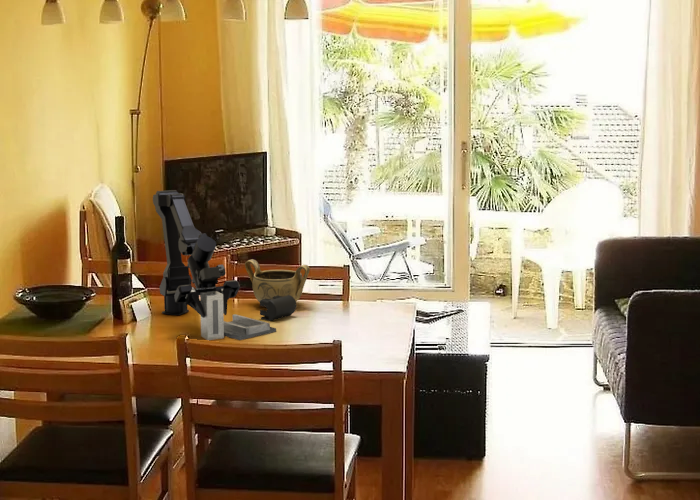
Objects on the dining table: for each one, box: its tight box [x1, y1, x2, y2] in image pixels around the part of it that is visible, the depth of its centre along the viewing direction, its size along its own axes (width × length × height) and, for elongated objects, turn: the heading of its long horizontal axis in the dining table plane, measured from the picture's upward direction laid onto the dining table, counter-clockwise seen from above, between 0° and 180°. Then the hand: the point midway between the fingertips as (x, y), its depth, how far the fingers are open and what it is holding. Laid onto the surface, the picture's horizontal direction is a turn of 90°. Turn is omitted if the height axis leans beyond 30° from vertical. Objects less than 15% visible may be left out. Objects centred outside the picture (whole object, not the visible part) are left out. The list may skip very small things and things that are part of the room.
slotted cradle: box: [224, 313, 277, 341], centre depth 303 cm, size 16×14×3 cm
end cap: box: [259, 295, 297, 322], centre depth 319 cm, size 10×7×7 cm
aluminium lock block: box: [199, 291, 225, 341], centre depth 295 cm, size 5×5×13 cm
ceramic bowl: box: [244, 258, 311, 303], centre depth 334 cm, size 22×17×15 cm
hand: (215, 315), depth 295 cm, fingers open, 6 cm apart
